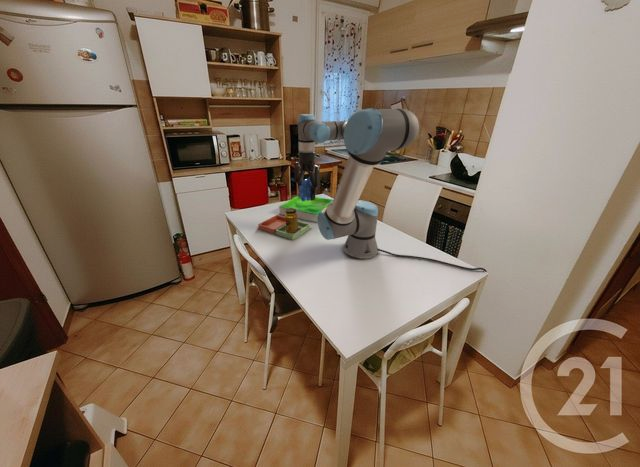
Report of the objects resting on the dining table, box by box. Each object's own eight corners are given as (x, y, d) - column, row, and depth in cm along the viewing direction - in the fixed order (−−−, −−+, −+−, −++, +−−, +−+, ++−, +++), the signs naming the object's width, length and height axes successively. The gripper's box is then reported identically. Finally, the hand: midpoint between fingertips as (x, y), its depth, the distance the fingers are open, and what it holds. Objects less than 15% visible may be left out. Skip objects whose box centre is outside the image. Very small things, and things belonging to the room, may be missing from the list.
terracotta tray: (292, 223, 146) (292, 219, 145) (274, 233, 135) (274, 229, 134) (277, 218, 151) (277, 214, 150) (258, 228, 140) (258, 224, 139)
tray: (300, 201, 177) (300, 193, 174) (334, 207, 167) (334, 200, 165) (279, 214, 157) (279, 206, 155) (317, 222, 147) (317, 214, 145)
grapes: (312, 195, 138) (312, 173, 132) (320, 199, 133) (320, 176, 127) (293, 200, 131) (292, 176, 126) (301, 204, 127) (300, 180, 121)
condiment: (282, 232, 135) (281, 210, 130) (291, 225, 142) (290, 205, 136) (294, 235, 132) (293, 213, 127) (303, 228, 139) (302, 207, 133)
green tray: (310, 228, 140) (310, 224, 139) (293, 240, 129) (292, 235, 128) (293, 223, 146) (293, 219, 144) (275, 234, 134) (275, 229, 133)
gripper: (329, 152, 118) (327, 200, 130) (295, 147, 128) (296, 192, 139) (319, 155, 113) (319, 205, 124) (285, 149, 122) (287, 196, 134)
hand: (307, 198), depth 132 cm, fingers closed on grapes, 7 cm apart
